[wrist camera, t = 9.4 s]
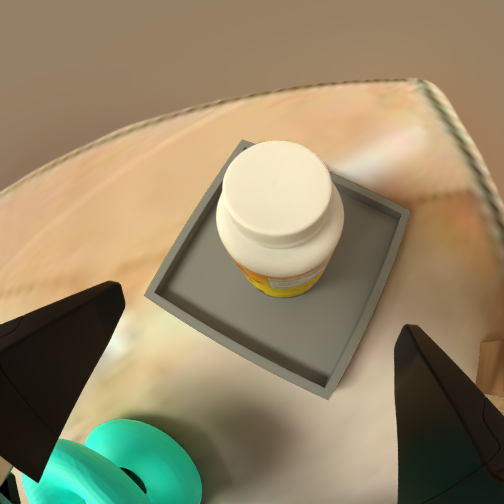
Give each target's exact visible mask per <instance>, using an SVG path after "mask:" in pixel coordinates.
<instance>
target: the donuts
mask: <svg viewBox="0 0 504 504" xmlns="http://www.w3.org/2000/svg"><path fill="white" fill-rule="evenodd" d="M120 467H122V468H126V469H129V470H131V471H132V472H134V473H135V474H136V475H137V476H138V477H139V478H140V479H141V480H142V482H143V483H144V485H145V487H146V491H147V493H146V494H145V493H144V492H143V491H142V490H141V489H140V487H139V486H138V485H137V484H136V483H135V482H134V481H133V480H132V479H131V478H130V477H129V476H128V475H127V474H126V473H125V472H124V471H122V470H121V469H120ZM22 481H23V485H24V489H25V492H26V495H27V498H28V500H29V502H30V504H87V503H88V504H200V502H201V498H202V483H201V479H200V475H199V472H198V470H197V468H196V466H195V464H194V462H193V461H192V459H191V458H190V456H189V455H188V454H187V452H186V451H185V450H184V449H183V448H182V447H181V446H180V445H179V444H178V443H177V442H176V441H175V440H174V439H172V438H171V437H170V436H169V435H167V434H166V433H164V432H163V431H161V430H159V429H157V428H155V427H154V426H151V425H149V424H146V423H144V422H140V421H136V420H130V419H115V420H110V421H107V422H104V423H102V424H100V425H99V426H97V427H96V428H95V429H94V430H93V431H92V432H91V433H90V435H89V436H88V438H87V440H86V442H85V445H82V444H79V443H76V442H73V441H69V440H65V439H58V441H57V443H56V445H55V447H54V450H53V452H52V454H51V456H50V458H49V461H48V463H47V465H46V468H45V470H44V472H43V475H42V477H41V480H40V481H39V483H36V482H35V481H33V480H32V479H30V478H29V477H28V476H26V475H25V474H23V473H22ZM85 501H86V502H87V503H86V502H85Z"/></svg>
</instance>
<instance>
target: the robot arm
mask: <svg viewBox="0 0 504 504" xmlns="http://www.w3.org/2000/svg"><path fill="white" fill-rule="evenodd" d="M124 309H125V299H124V295H123V291H122V287H121V285H120V283H118V282H115V281H106V282H104V283H101V284H99V285H96V286H94V287H91V288H89V289H86V290H84V291H81V292H79V293H76V294H74V295H71V296H69V297H66V298H64V299H61V300H59V301H56V302H54V303H52V304H49V305H47V306H44V307H42V308H39V309H37V310H35V311H32V312H30V313H27V314H25V315H24V316H20V317H18V318H16V319H13V320H11V321H8V322H6V323H3V324H0V504H21V502H20V498H19V493H18V489H17V484H16V479H15V475H14V474H13V473H12V472H11V470H12V469H13V467H15V468H16V469H18V470H19V471H20V472H22V473H23V474H25V475H26V476H28V477H29V478H30V479H32V480H33V481H35V482H36V483H39V481H40V480H41V477H42V475H43V472H44V470H45V468H46V465H47V463H48V461H49V458H50V456H51V454H52V452H53V450H54V447H55V445H56V443H57V441H58V438H59V436H60V434H61V432H62V430H63V428H64V426H65V424H66V422H67V420H68V418H69V416H70V414H71V412H72V410H73V408H74V406H75V404H76V402H77V400H78V398H79V396H80V394H81V392H82V390H83V389H84V387H85V385H86V383H87V381H88V379H89V377H90V376H91V374H92V372H93V370H94V368H95V367H96V365H97V363H98V361H99V359H100V358H101V356H102V354H103V352H104V351H105V349H106V347H107V345H108V343H109V341H110V339H111V337H112V335H113V333H114V330H115V328H116V326H117V324H118V322H119V320H120V318H121V315H122V313H123V311H124ZM394 394H395V407H396V421H397V438H398V504H504V416H503V415H502V414H501V413H500V411H499V410H498V409H497V408H496V407H495V406H494V405H493V404H492V403H491V401H490V400H489V399H488V398H487V397H485V395H484V394H483V393H482V391H481V390H480V389H479V388H478V387H477V386H476V385H475V384H474V383H473V382H472V381H471V379H470V378H469V377H468V376H467V375H466V374H465V373H464V372H463V371H462V370H461V369H460V368H459V367H458V366H457V365H456V363H455V362H454V361H453V360H452V359H451V358H450V357H449V356H448V355H447V354H446V353H445V352H444V351H443V350H442V349H441V348H440V347H439V346H438V345H437V344H436V343H435V342H434V341H433V340H432V339H431V338H430V337H429V336H428V335H427V334H426V333H425V332H424V331H423V330H422V329H421V328H420V327H419V326H418V325H412V324H406V325H404V326H403V328H402V330H401V333H400V335H399V337H398V339H397V342H396V344H395V348H394Z"/></svg>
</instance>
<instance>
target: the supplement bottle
mask: <svg viewBox="0 0 504 504" xmlns="http://www.w3.org/2000/svg"><path fill="white" fill-rule="evenodd" d="M216 222H217V228H218V232H219V236H220V238H221V241H222V242H223V244H224V246H225V248H226V250H227V251H228V253H229V254H230V255H231V257H232V258H233V260H234V261H235V262H236V264H237V265H238V267H239V268H240V270H241V271H242V272H243V274H244V275H245V276H246V278H247V279H248V281H249V282H250V283H251V284H252V285H253V286H254V287H255V288H256V289H257V290H258V291H260V292H261V293H263V294H265V295H267V296H270V297H274V298H279V299H288V298H294V297H297V296H300V295H302V294H304V293H306V292H307V291H309V290H310V289H311V288H312V287H313V286H314V285H315V284H316V283H317V282H318V280H319V279H320V277H321V276H322V274H323V272H324V270H325V268H326V266H327V264H328V262H329V260H330V258H331V256H332V254H333V252H334V250H335V248H336V246H337V244H338V241H339V239H340V236H341V233H342V229H343V224H344V208H343V203H342V200H341V197H340V194H339V192H338V190H337V188H336V187H335V185H334V184H333V182H332V180H331V176H330V172H329V170H328V168H327V166H326V165H325V164H324V162H323V161H322V159H321V158H320V157H319V156H318V155H317V154H315V153H314V152H313V151H312V150H310V149H308V148H307V147H305V146H303V145H300V144H297V143H294V142H289V141H282V140H277V141H267V142H262V143H259V144H256V145H253V146H251V147H249V148H248V149H246V150H244V151H243V152H241V153H240V154H239V155H238V156H237V157H236V158H235V159H234V160H233V161H232V162H231V164H230V165H229V167H228V169H227V171H226V173H225V175H224V179H223V185H222V193H221V195H220V198H219V201H218V205H217V212H216Z"/></svg>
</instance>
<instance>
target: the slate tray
mask: <svg viewBox="0 0 504 504" xmlns="http://www.w3.org/2000/svg"><path fill="white" fill-rule="evenodd" d="M253 145H256V144H254V143H251V142H248V141H245V140H241V142H240V143H239V145H238V146H237V147H236V149H235V150H234V152H233V153H232V155H231V156H230V157H229V159H228V160H227V162H226V163H225V165H224V166H223V168H222V169H221V171H220V172H219V174H218V175H217V176H216V178H215V179H214V181H213V182H212V184H211V185H210V187H209V189H208V190H207V192H206V193H205V195H204V196H203V198H202V199H201V201H200V202H199V204H198V205H197V207H196V209H195V210H194V212H193V213H192V215H191V216H190V218H189V220H188V221H187V223H186V224H185V226H184V228H183V229H182V231H181V233H180V234H179V236H178V237H177V239H176V241H175V242H174V244H173V246H172V247H171V249H170V251H169V252H168V254H167V256H166V257H165V259H164V261H163V263H162V264H161V266H160V268H159V269H158V271H157V273H156V275H155V276H154V278H153V280H152V282H151V283H150V285H149V287H148V289H147V291H146V292H145V294H144V296H145V297H147V298H148V299H149V300H151V301H152V302H154V303H155V304H157V305H158V306H160V307H161V308H163V309H164V310H166V311H167V312H169V313H170V314H172V315H174V316H175V317H177V318H178V319H180V320H181V321H183V322H185V323H186V324H188V325H189V326H191V327H192V328H194V329H196V330H197V331H199V332H201V333H202V334H204V335H206V336H207V337H209V338H211V339H212V340H214V341H216V342H217V343H219V344H221V345H222V346H224V347H226V348H228V349H229V350H231V351H233V352H235V353H236V354H238V355H240V356H242V357H244V358H245V359H247V360H249V361H251V362H253V363H254V364H256V365H258V366H260V367H262V368H264V369H266V370H268V371H269V372H271V373H273V374H275V375H277V376H279V377H281V378H283V379H285V380H287V381H289V382H291V383H293V384H295V385H297V386H299V387H301V388H303V389H305V390H307V391H309V392H312V393H314V394H316V395H318V396H320V397H322V398H324V399H327V400H329V399H330V397H331V395H332V393H333V392H334V390H335V388H336V386H337V385H338V383H339V381H340V379H341V377H342V375H343V374H344V372H345V370H346V368H347V366H348V364H349V362H350V360H351V358H352V356H353V354H354V352H355V350H356V348H357V346H358V344H359V342H360V340H361V338H362V336H363V334H364V332H365V330H366V328H367V326H368V323H369V321H370V319H371V317H372V314H373V312H374V310H375V308H376V305H377V303H378V301H379V298H380V296H381V294H382V291H383V289H384V286H385V284H386V281H387V279H388V276H389V274H390V271H391V268H392V266H393V263H394V260H395V258H396V255H397V252H398V249H399V246H400V243H401V240H402V237H403V234H404V231H405V228H406V225H407V222H408V219H409V216H410V212H411V211H410V210H408V209H406V208H404V207H402V206H400V205H398V204H396V203H394V202H392V201H390V200H388V199H386V198H384V197H382V196H380V195H378V194H376V193H374V192H372V191H370V190H368V189H366V188H363V187H361V186H359V185H357V184H355V183H352V182H350V181H348V180H346V179H343V178H341V177H339V176H337V175H334V174H332V173H330V176H331V180H332V182H333V184H334V185H335V187H336V188H337V190H338V192H339V194H340V197H341V200H342V203H343V208H344V224H343V229H342V233H341V236H340V239H339V241H338V244H337V246H336V248H335V250H334V252H333V254H332V256H331V258H330V260H329V262H328V264H327V266H326V268H325V270H324V272H323V274H322V276H321V277H320V279H319V280H318V282H317V283H316V284H315V285H314V286H313V287H312V288H311V289H310V290H309V291H307V292H306V293H304V294H302V295H300V296H297V297H294V298H288V299H279V298H274V297H270V296H267V295H265V294H263V293H261V292H260V291H258V290H257V289H256V288H255V287H254V286H253V285H252V284H251V283H250V282H249V281H248V279H247V278H246V276H245V275H244V274H243V272H242V271H241V270H240V268H239V267H238V265H237V264H236V262H235V261H234V260H233V258H232V257H231V255H230V254H229V253H228V251H227V250H226V248H225V246H224V244H223V242H222V241H221V238H220V236H219V232H218V228H217V222H216V212H217V205H218V201H219V198H220V195H221V193H222V185H223V179H224V175H225V173H226V171H227V169H228V167H229V165H230V164H231V162H232V161H233V160H234V159H235V158H236V157H237V156H238V155H239V154H240V153H241V152H243V151H244V150H246V149H248V148H249V147H251V146H253Z"/></svg>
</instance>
